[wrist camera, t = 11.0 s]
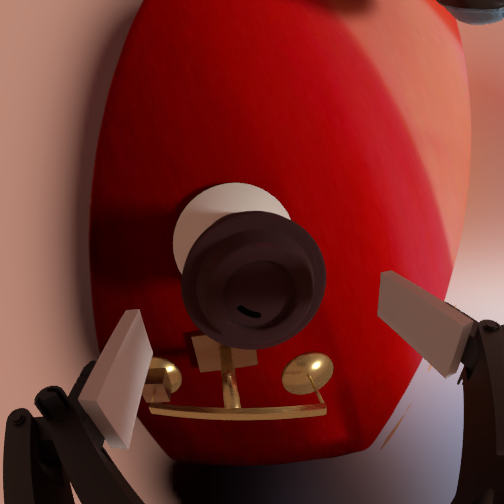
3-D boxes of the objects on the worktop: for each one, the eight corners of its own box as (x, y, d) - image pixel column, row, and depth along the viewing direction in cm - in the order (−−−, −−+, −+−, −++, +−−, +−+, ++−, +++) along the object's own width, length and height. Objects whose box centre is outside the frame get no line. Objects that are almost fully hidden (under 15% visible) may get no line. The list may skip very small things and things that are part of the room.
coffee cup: (255, 184, 29) (296, 184, 15) (294, 258, 32) (355, 315, 18) (177, 229, 29) (146, 271, 15) (222, 300, 32) (232, 383, 18)
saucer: (166, 191, 29) (164, 192, 28) (286, 177, 31) (289, 177, 30) (185, 305, 33) (184, 309, 32) (294, 289, 35) (297, 292, 33)
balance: (136, 337, 33) (107, 415, 19) (308, 313, 36) (358, 381, 22) (149, 371, 35) (130, 450, 20) (308, 348, 37) (351, 420, 23)
